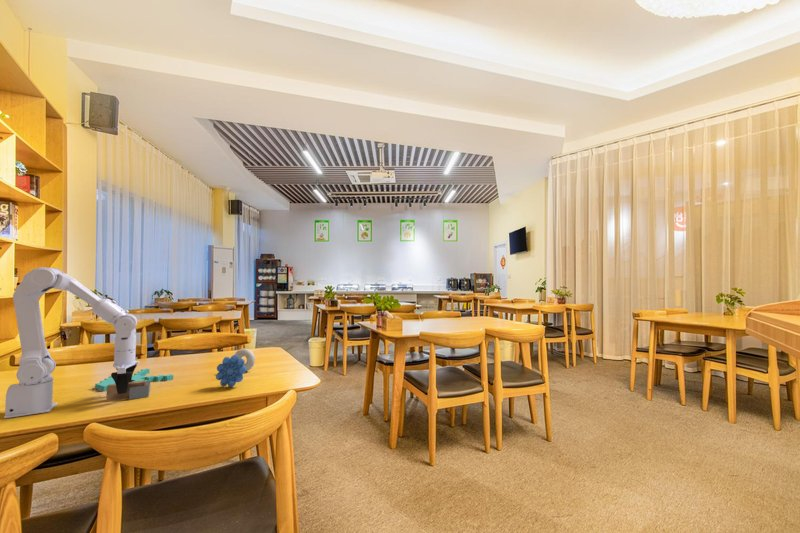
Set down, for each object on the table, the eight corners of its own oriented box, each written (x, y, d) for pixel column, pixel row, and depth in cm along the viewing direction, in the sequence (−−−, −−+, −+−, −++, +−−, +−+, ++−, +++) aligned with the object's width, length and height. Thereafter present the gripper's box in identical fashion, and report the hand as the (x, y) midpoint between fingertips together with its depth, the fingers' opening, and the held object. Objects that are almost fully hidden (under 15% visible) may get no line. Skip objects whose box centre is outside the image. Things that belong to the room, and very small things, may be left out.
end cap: (129, 399, 114) (129, 387, 114) (131, 394, 119) (132, 382, 119) (148, 396, 116) (148, 385, 117) (150, 391, 122) (150, 380, 122)
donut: (256, 370, 149) (257, 348, 150) (251, 373, 146) (252, 349, 146) (236, 369, 151) (236, 347, 151) (231, 371, 148) (231, 348, 148)
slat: (106, 402, 112) (106, 386, 112) (107, 399, 114) (108, 384, 114) (144, 396, 117) (144, 382, 117) (144, 394, 119) (145, 380, 119)
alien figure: (146, 373, 146) (86, 386, 128) (146, 368, 146) (87, 381, 128) (173, 380, 136) (112, 395, 119) (173, 374, 136) (112, 389, 119)
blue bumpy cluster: (251, 383, 132) (252, 352, 132) (242, 389, 125) (243, 356, 125) (222, 382, 132) (223, 352, 133) (212, 388, 125) (212, 356, 126)
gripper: (137, 352, 112) (136, 394, 111) (142, 344, 124) (141, 382, 124) (109, 355, 108) (108, 398, 108) (117, 346, 120) (116, 385, 120)
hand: (123, 390), depth 115 cm, fingers open, 7 cm apart
